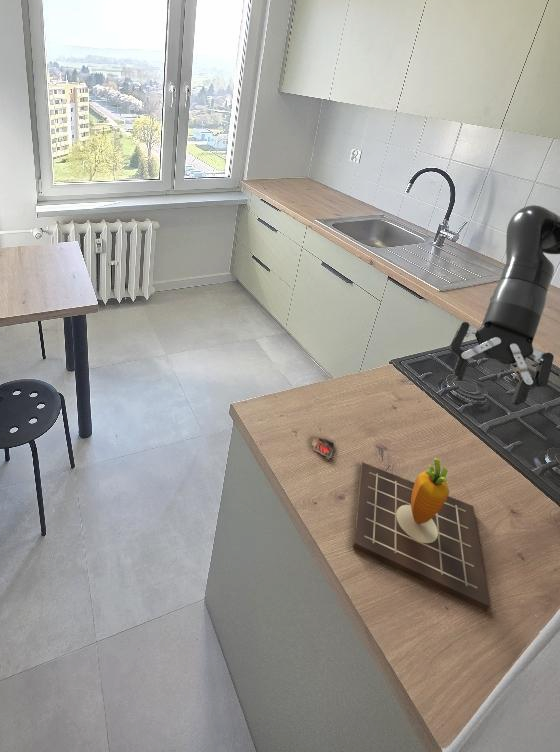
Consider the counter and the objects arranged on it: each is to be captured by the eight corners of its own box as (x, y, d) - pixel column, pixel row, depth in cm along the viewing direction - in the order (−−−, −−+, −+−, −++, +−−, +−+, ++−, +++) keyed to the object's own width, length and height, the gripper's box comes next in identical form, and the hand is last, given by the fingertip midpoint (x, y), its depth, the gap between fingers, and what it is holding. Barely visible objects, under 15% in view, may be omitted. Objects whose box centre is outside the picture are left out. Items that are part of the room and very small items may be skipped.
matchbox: (333, 442, 94) (334, 440, 93) (333, 461, 89) (334, 459, 89) (312, 436, 95) (312, 434, 95) (311, 454, 91) (311, 452, 90)
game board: (470, 510, 81) (473, 505, 80) (486, 611, 66) (490, 606, 65) (360, 466, 88) (362, 461, 88) (352, 547, 74) (354, 542, 73)
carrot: (429, 542, 73) (456, 485, 67) (399, 524, 76) (422, 467, 70) (433, 520, 77) (459, 463, 71) (404, 503, 80) (427, 448, 74)
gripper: (474, 289, 76) (444, 371, 74) (573, 321, 70) (543, 413, 67) (465, 298, 83) (437, 373, 80) (555, 328, 76) (527, 412, 74)
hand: (485, 391), depth 74 cm, fingers open, 8 cm apart
